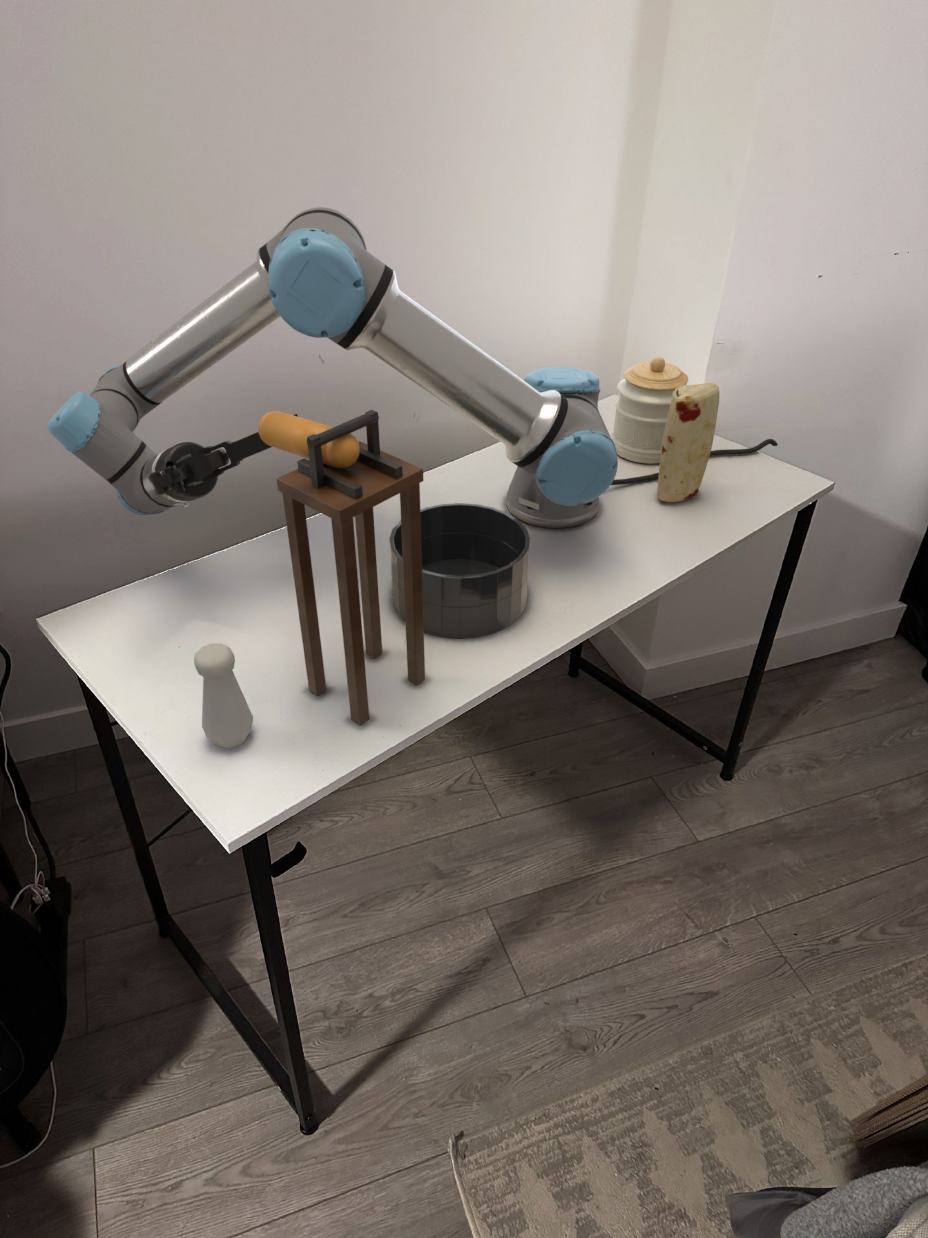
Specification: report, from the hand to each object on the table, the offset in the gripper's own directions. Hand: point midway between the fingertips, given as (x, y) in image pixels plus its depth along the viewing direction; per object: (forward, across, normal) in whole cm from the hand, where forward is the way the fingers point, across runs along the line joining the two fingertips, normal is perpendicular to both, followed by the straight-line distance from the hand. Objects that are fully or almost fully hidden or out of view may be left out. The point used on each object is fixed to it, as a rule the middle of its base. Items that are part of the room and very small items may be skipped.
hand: (254, 443), depth 104 cm
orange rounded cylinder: (+10, 0, -4) cm, 11 cm away
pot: (-3, -22, -31) cm, 38 cm away
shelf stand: (0, 0, -33) cm, 33 cm away
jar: (-8, -80, -28) cm, 85 cm away
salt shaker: (-4, +17, -30) cm, 35 cm away
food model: (+4, -69, -35) cm, 77 cm away
